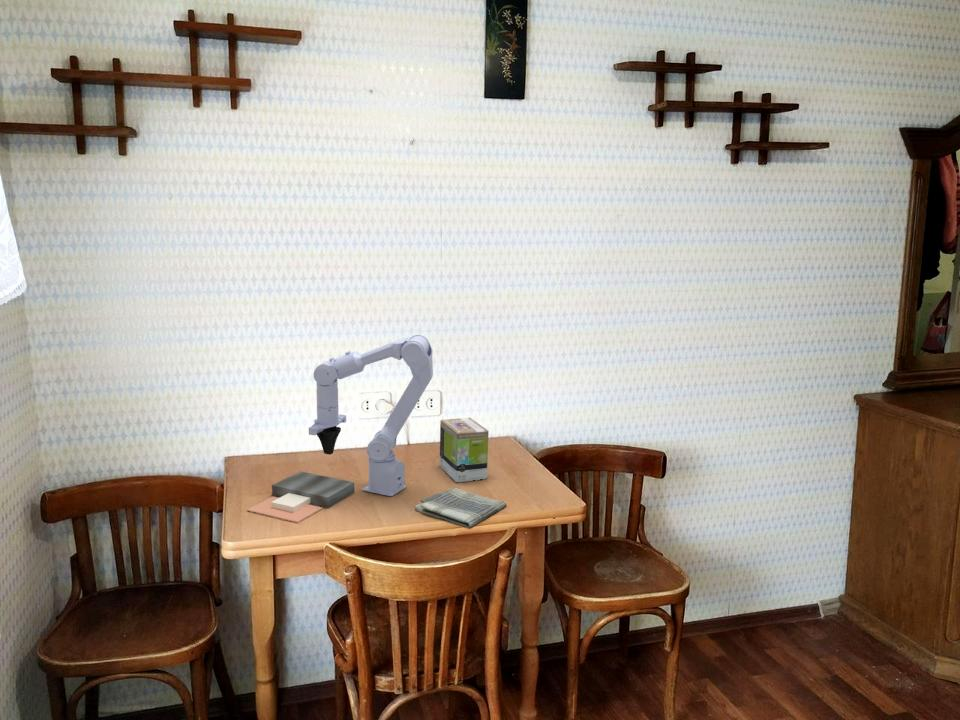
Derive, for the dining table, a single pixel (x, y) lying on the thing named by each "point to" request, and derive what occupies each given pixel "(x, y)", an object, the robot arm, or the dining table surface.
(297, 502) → the coaster
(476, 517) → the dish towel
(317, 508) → the mat
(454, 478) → the tea box
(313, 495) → the plate
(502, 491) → the dining table surface
